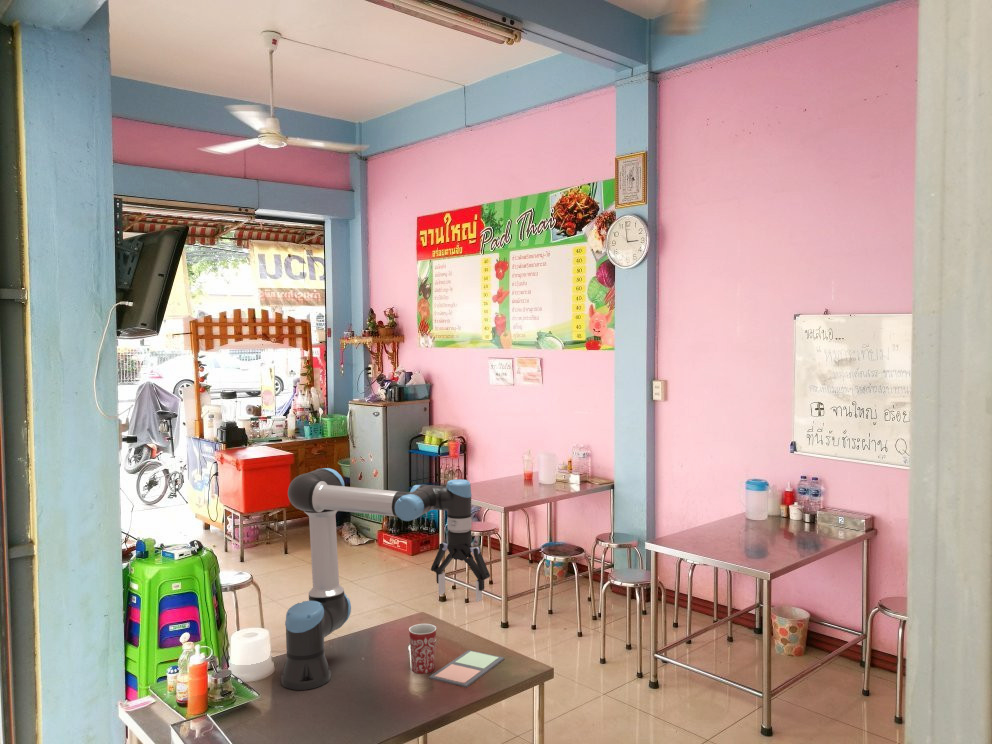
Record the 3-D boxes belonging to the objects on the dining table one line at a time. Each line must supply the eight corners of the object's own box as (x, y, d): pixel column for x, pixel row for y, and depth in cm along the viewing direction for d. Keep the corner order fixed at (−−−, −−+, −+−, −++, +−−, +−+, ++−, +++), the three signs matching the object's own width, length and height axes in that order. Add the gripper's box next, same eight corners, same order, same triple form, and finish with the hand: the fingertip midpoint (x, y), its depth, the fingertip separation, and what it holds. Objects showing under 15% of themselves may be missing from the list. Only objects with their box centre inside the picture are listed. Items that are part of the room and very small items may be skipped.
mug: (440, 672, 248) (440, 631, 247) (413, 677, 245) (412, 635, 244) (429, 657, 260) (428, 618, 259) (403, 662, 256) (402, 622, 256)
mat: (429, 678, 243) (429, 676, 243) (468, 651, 264) (468, 649, 264) (466, 687, 237) (466, 685, 237) (504, 659, 257) (504, 657, 257)
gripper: (419, 528, 243) (420, 594, 243) (488, 537, 231) (489, 606, 231) (432, 523, 249) (433, 587, 250) (500, 531, 237) (500, 599, 238)
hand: (460, 597), depth 241 cm, fingers open, 13 cm apart
